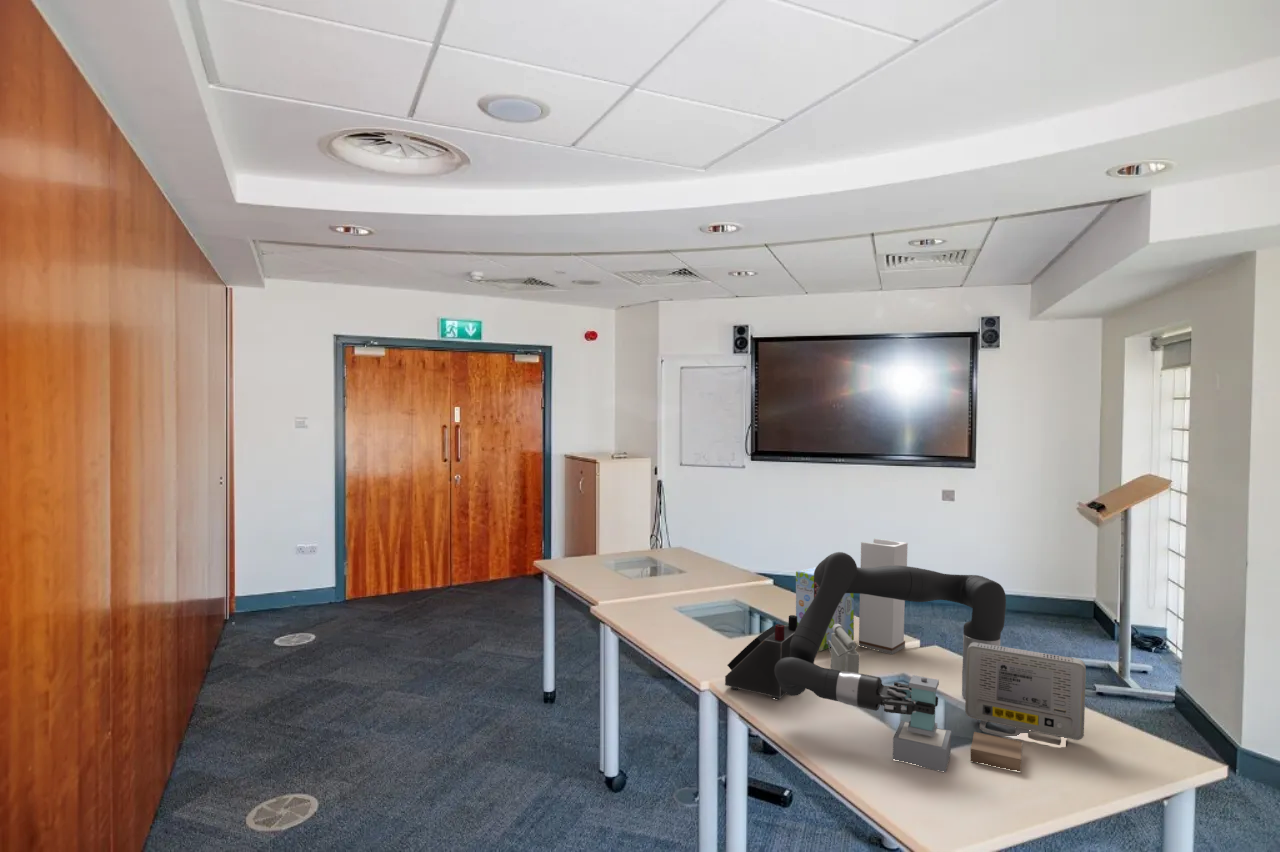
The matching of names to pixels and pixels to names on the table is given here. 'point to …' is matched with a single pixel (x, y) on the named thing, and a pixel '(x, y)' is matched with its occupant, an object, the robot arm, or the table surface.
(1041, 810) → the table surface
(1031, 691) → the network device
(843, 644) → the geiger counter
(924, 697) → the housing
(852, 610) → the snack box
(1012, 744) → the walnut block
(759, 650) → the voltmeter
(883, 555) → the tall open-top box
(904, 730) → the grey plinth
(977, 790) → the table surface
